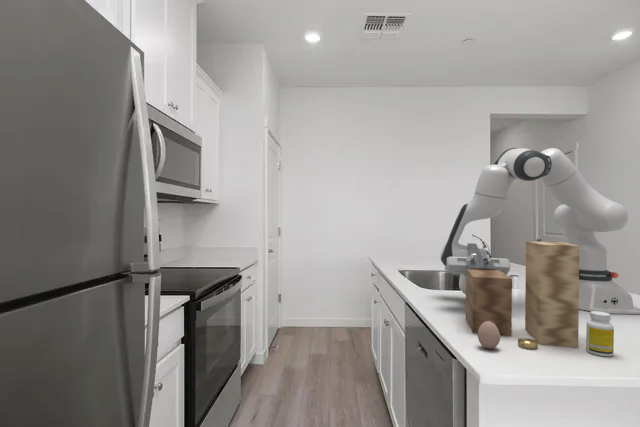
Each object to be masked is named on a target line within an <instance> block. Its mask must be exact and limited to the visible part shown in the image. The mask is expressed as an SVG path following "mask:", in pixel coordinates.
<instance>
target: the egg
mask: <svg viewBox="0 0 640 427" xmlns="http://www.w3.org/2000/svg"><path fill="white" fill-rule="evenodd" d="M477 340H478V342H479V343H480V345H481V346H482V347H483V348H485V349H487V350H493V349H495V348H496V347H497V346H498V345H499V343H500V341H501V336H500V333H499V330H498V328H497V327H496V325H495V324H494V323H492V322H490V321H486V322H484V323H482V325H481V326H480V328H479V330H478V334H477Z"/></svg>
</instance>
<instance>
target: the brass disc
mask: <svg viewBox="0 0 640 427" xmlns="http://www.w3.org/2000/svg"><path fill="white" fill-rule="evenodd" d="M538 344H539V343H538V342H537V341H536V340H535V339H534V338H527V337H520V338H518V339H517V346H518V347H519V349H520V348H521V349H524V350H529V351H536V350H538V349H539V345H538Z"/></svg>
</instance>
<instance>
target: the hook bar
mask: <svg viewBox="0 0 640 427" xmlns="http://www.w3.org/2000/svg"><path fill="white" fill-rule="evenodd" d="M466 246H467V252H468V255H469V256H471V254H476V261H467V266H466V269H475V270H496V268H495V266H494V264H493V262H484V260H483V257H482V255H481V253H480V251H479V249H478V248H479V247H478V245H477V243H467V245H466Z"/></svg>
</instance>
